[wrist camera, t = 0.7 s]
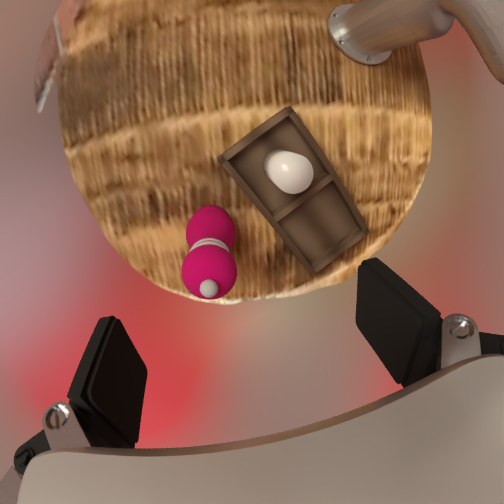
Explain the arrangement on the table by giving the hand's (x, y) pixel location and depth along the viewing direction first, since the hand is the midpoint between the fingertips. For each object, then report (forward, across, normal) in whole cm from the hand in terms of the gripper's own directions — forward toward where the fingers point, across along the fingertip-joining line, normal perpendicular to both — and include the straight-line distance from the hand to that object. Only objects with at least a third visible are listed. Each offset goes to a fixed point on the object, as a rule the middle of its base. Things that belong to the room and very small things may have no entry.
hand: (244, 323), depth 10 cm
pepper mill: (+34, +2, +6) cm, 35 cm away
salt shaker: (+33, -10, -1) cm, 34 cm away
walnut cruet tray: (+34, -12, +4) cm, 36 cm away
